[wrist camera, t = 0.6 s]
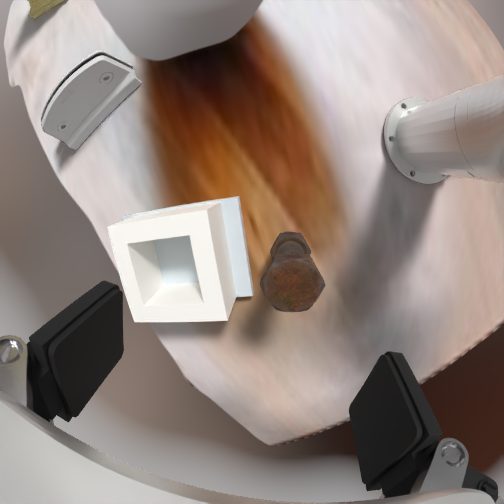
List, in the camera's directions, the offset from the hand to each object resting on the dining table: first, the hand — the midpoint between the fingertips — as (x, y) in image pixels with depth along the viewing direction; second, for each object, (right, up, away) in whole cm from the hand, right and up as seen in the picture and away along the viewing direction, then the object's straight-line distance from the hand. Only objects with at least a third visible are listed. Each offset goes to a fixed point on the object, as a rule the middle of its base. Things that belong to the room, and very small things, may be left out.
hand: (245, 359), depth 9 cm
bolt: (+5, +5, +29) cm, 30 cm away
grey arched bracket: (-25, +28, +26) cm, 46 cm away
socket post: (-9, +4, +31) cm, 33 cm away
